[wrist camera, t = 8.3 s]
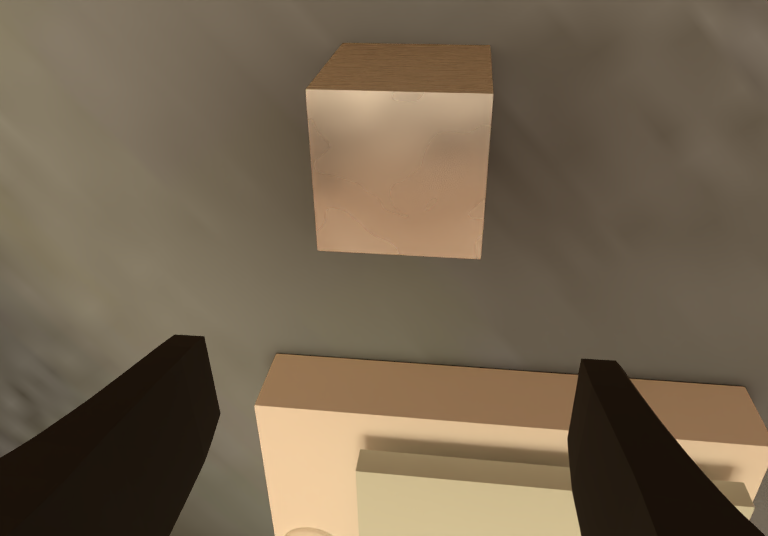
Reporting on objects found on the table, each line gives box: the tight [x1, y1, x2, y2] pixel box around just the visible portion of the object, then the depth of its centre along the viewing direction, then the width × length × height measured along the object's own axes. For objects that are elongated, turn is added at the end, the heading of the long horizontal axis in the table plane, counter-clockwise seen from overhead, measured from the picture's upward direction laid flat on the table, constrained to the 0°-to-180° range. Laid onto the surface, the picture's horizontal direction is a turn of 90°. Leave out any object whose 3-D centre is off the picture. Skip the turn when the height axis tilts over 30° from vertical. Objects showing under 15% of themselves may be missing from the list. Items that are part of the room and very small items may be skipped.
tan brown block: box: [305, 43, 493, 259], centre depth 18 cm, size 4×4×5 cm
